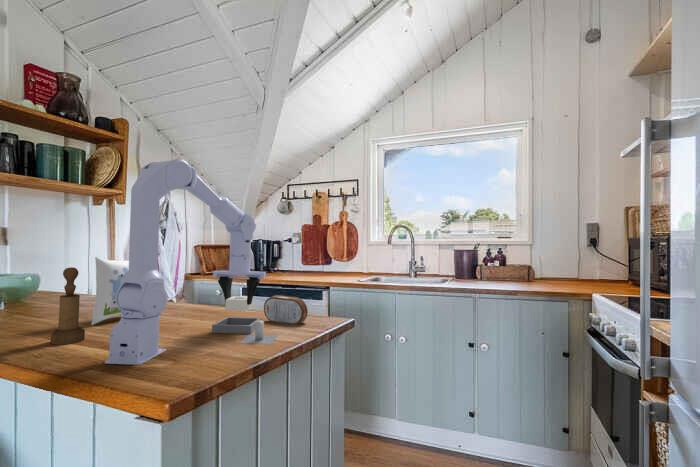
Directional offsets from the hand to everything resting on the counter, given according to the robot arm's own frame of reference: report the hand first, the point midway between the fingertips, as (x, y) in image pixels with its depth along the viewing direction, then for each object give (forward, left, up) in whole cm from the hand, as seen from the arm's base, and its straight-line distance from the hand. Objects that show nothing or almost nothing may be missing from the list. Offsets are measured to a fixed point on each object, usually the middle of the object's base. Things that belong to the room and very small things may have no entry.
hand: (238, 303), depth 103 cm
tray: (0, 0, -8) cm, 8 cm away
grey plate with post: (-11, -9, -8) cm, 16 cm away
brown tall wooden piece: (-15, +37, -8) cm, 41 cm away
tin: (+11, -11, -8) cm, 17 cm away
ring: (0, 0, -1) cm, 1 cm away
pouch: (+10, +40, -8) cm, 42 cm away
